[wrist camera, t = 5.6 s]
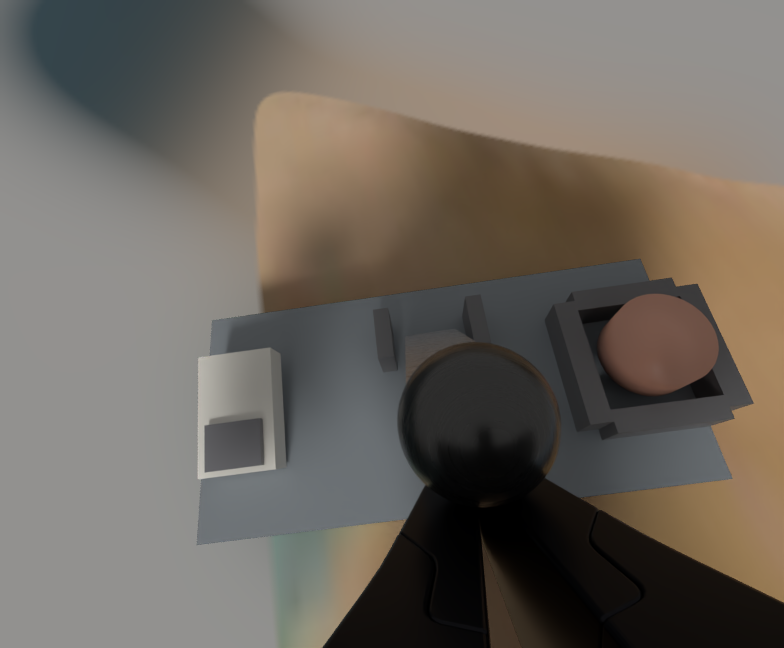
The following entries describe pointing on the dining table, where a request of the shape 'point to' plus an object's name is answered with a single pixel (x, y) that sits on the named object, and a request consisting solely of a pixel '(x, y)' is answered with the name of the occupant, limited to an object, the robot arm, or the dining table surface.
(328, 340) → the panel
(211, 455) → the rocker switch
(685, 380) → the push button
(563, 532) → the robot arm
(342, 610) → the dining table surface
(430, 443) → the toggle lever
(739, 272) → the dining table surface
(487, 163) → the dining table surface
